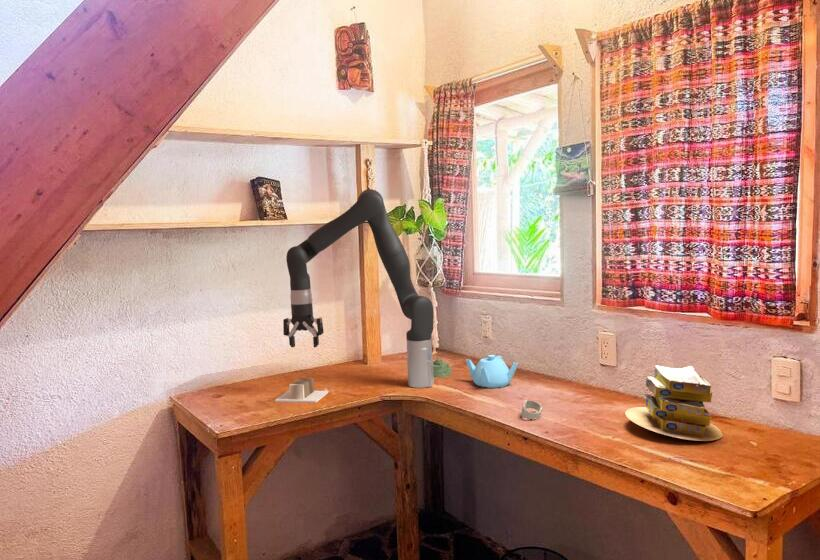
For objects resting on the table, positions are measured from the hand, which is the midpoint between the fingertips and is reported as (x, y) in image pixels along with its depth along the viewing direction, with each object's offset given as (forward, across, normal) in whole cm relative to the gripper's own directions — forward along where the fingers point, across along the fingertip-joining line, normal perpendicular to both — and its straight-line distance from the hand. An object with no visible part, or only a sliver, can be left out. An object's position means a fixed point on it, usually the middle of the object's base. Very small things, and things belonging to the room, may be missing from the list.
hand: (304, 346), depth 220 cm
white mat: (+17, 0, -5) cm, 18 cm away
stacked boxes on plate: (+18, +118, -28) cm, 122 cm away
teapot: (+18, +65, +18) cm, 69 cm away
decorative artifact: (+18, +43, +31) cm, 56 cm away
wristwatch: (+18, +79, -19) cm, 84 cm away
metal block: (+14, 0, 0) cm, 14 cm away
